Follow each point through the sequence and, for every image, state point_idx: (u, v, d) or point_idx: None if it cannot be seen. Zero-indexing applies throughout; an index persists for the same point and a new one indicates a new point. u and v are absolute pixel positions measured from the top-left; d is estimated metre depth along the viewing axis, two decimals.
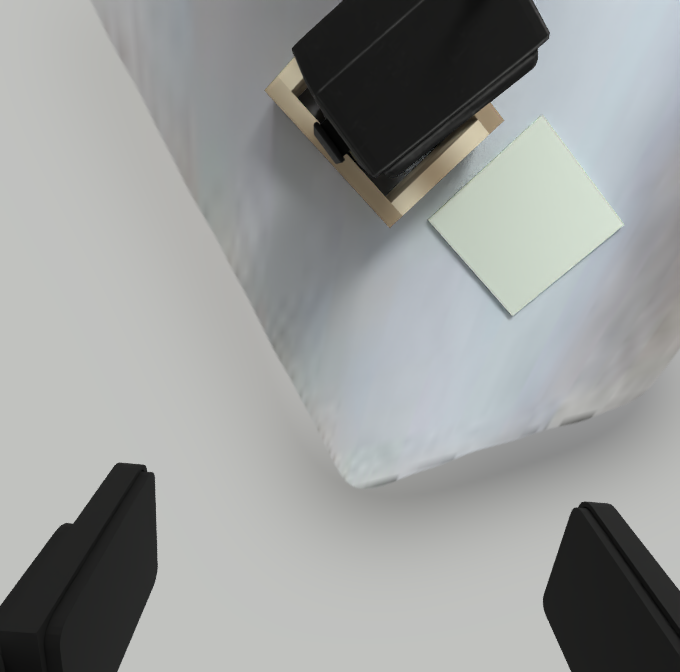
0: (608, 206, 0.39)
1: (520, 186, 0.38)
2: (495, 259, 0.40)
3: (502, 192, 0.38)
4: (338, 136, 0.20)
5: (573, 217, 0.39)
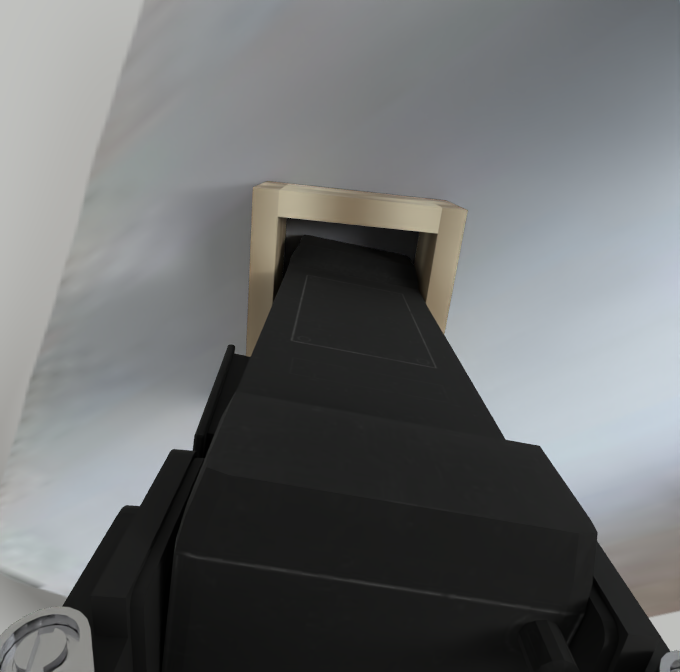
0: None
1: None
2: None
3: None
4: None
5: None
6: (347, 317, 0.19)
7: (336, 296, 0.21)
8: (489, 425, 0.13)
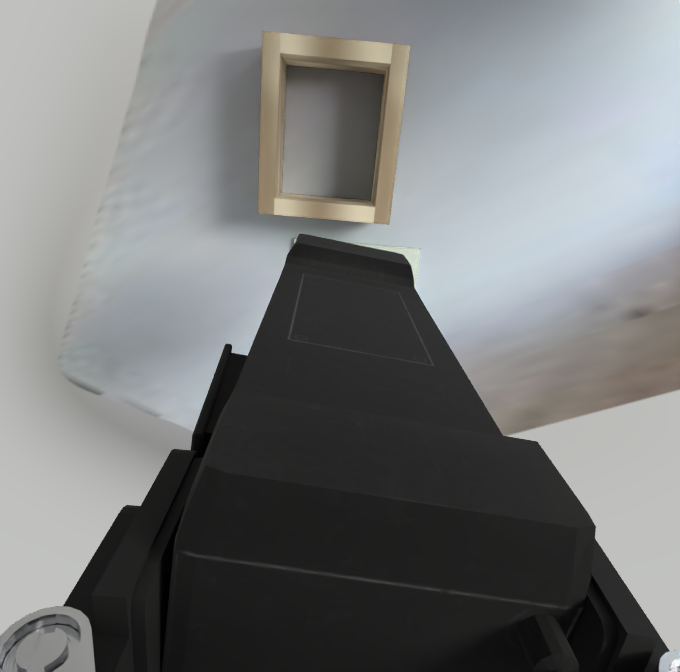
0: None
1: None
2: None
3: None
4: None
5: None
6: (343, 316, 0.19)
7: (332, 295, 0.21)
8: (487, 422, 0.13)
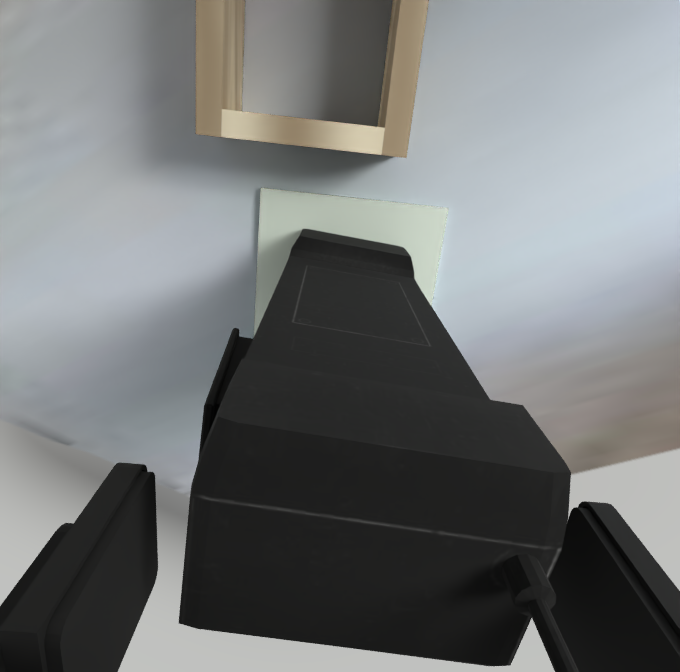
0: None
1: None
2: None
3: None
4: None
5: None
6: (345, 303, 0.20)
7: (334, 284, 0.22)
8: (479, 394, 0.14)
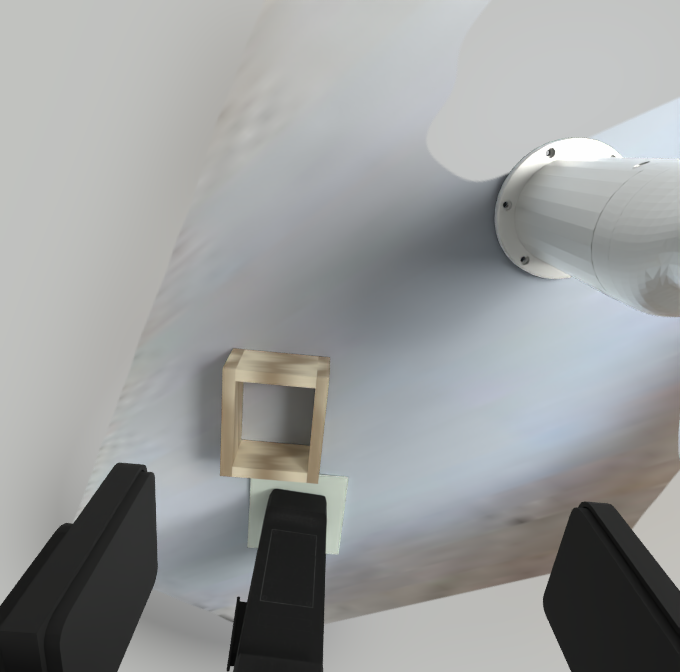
0: (338, 540, 0.59)
1: None
2: None
3: (298, 491, 0.56)
4: (235, 660, 0.40)
5: None
6: (284, 572, 0.47)
7: (282, 551, 0.49)
8: (320, 643, 0.41)
